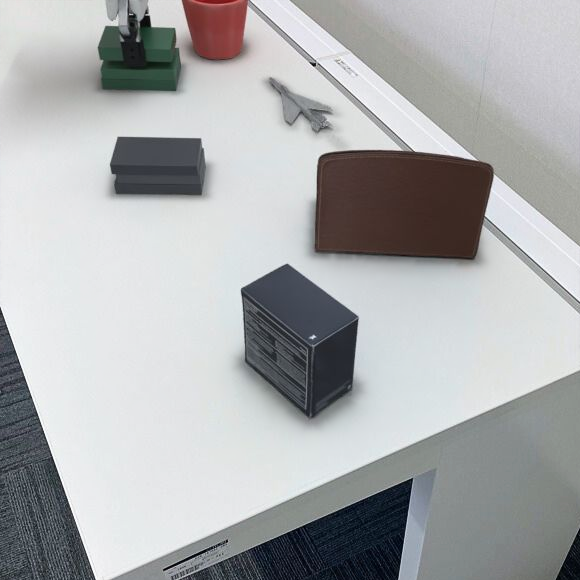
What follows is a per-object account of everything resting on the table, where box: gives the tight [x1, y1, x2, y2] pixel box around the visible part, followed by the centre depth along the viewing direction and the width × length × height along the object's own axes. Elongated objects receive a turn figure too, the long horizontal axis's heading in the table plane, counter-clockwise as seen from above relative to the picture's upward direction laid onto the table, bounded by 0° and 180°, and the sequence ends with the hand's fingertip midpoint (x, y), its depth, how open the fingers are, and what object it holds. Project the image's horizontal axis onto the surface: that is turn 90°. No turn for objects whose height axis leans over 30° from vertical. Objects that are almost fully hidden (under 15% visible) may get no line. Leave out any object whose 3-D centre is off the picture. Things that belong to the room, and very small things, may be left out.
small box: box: [240, 263, 360, 419], centre depth 76 cm, size 11×6×10 cm, turn 44°
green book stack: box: [100, 46, 182, 92], centre depth 118 cm, size 11×8×3 cm
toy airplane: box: [268, 76, 339, 142], centre depth 114 cm, size 8×21×2 cm, turn 33°
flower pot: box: [181, 0, 249, 61], centre depth 124 cm, size 11×11×10 cm
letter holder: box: [313, 149, 495, 260], centre depth 92 cm, size 10×20×14 cm, turn 90°
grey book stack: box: [109, 136, 207, 196], centre depth 100 cm, size 11×6×4 cm, turn 93°
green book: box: [97, 25, 178, 62], centre depth 116 cm, size 10×7×2 cm, turn 93°
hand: (139, 52), depth 117 cm, fingers closed on green book, 7 cm apart
